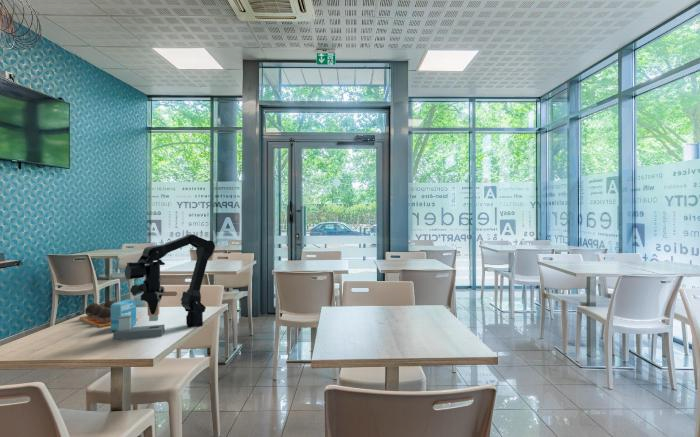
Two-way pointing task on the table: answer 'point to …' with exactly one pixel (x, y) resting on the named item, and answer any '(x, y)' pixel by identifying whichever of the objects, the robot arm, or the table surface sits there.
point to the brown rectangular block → (153, 316)
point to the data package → (122, 312)
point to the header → (139, 332)
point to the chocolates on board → (99, 314)
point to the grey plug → (124, 322)
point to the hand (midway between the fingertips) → (153, 313)
